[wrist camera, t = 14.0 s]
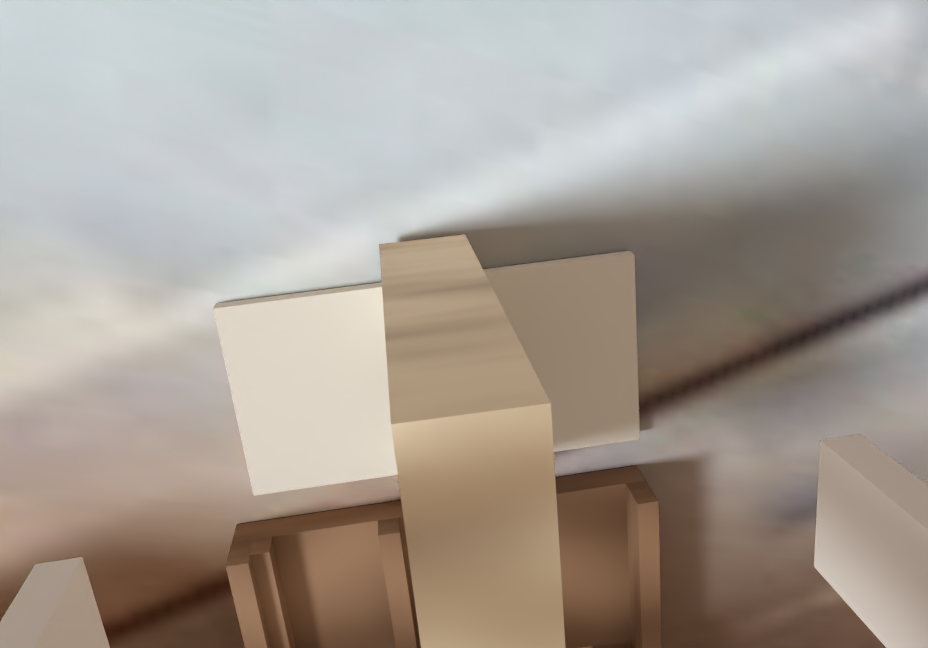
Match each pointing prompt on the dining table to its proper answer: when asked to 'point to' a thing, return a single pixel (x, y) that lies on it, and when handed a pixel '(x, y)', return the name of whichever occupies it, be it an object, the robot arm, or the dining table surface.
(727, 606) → the dining table surface
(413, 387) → the birch block
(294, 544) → the rack
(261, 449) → the white mat
